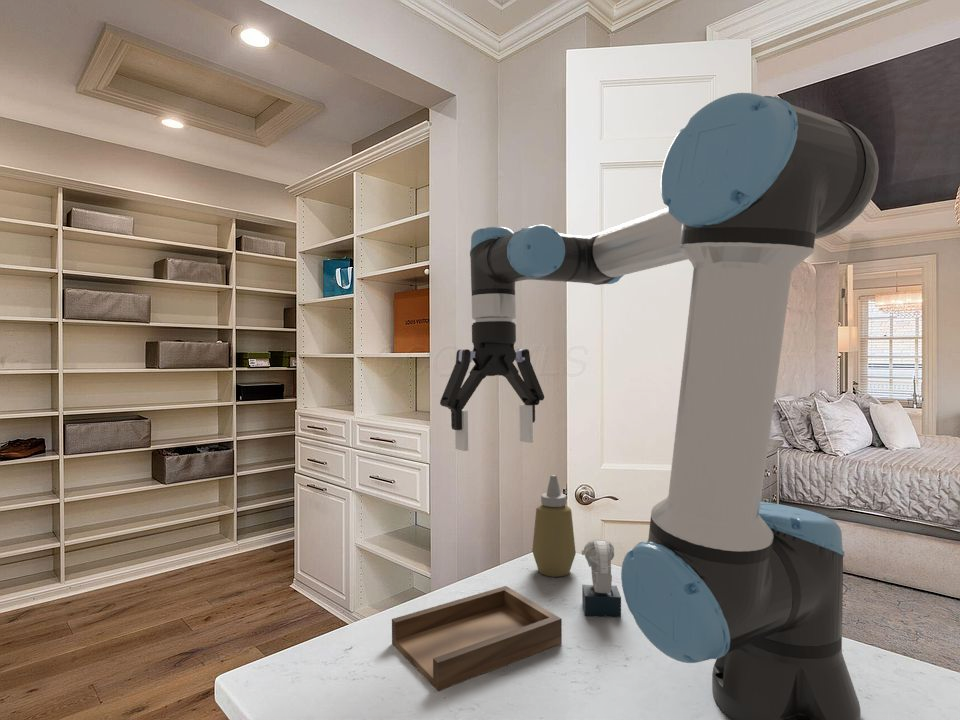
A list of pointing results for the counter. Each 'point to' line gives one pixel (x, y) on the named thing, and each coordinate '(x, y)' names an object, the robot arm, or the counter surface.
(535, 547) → the squeeze bottle
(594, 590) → the watch
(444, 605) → the walnut track
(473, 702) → the counter surface
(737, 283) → the robot arm
